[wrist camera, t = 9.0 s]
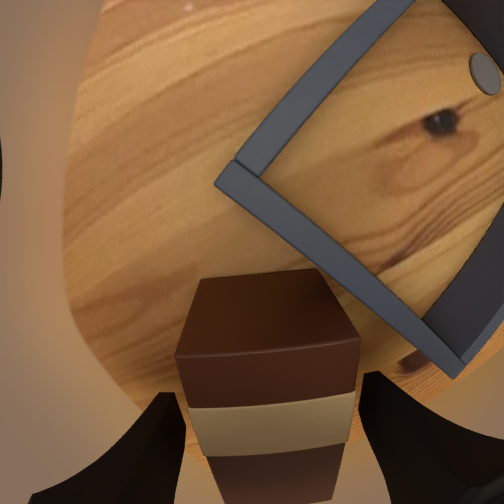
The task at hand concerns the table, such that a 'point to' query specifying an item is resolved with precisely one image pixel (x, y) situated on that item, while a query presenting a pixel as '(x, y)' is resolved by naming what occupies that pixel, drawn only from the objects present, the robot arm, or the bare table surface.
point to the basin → (330, 251)
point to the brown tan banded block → (270, 384)
